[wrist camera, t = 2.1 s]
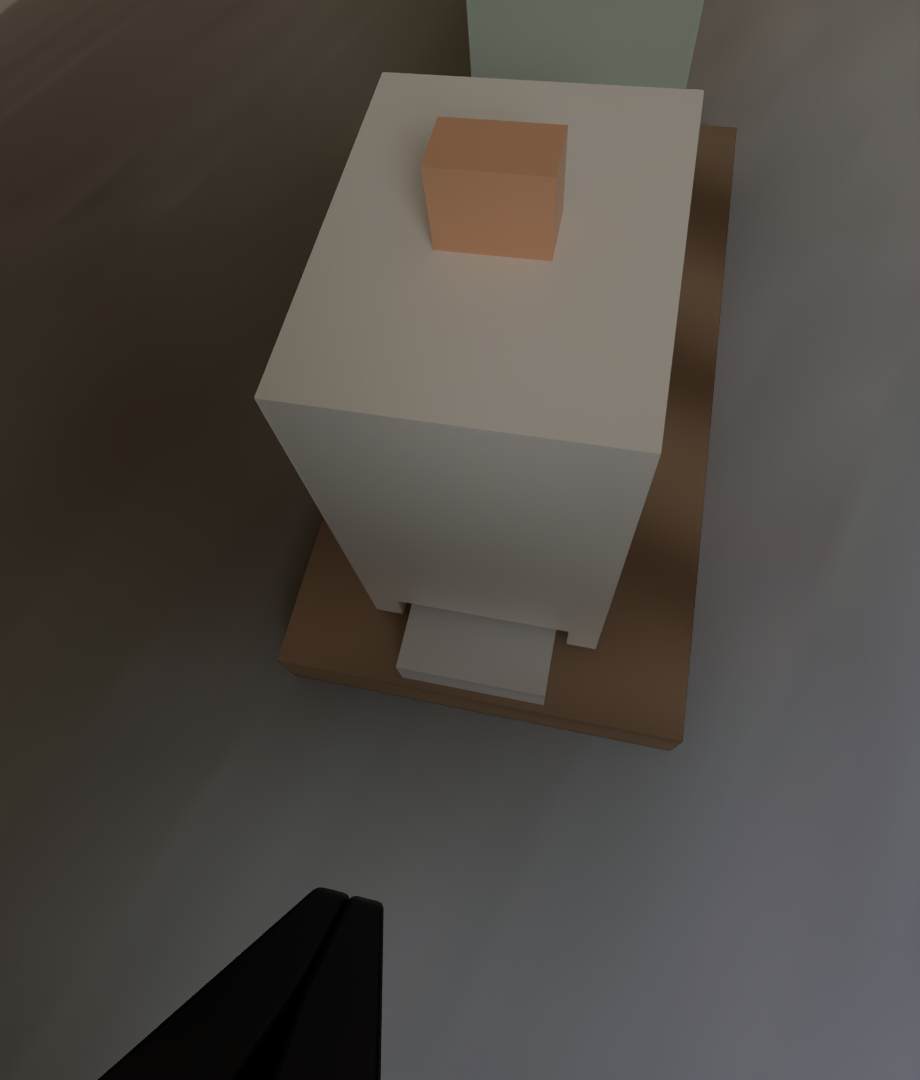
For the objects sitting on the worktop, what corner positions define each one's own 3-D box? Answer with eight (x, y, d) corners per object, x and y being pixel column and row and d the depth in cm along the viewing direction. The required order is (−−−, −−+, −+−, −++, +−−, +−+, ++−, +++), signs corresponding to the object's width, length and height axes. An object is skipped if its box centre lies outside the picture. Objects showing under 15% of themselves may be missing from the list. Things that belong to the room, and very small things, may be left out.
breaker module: (595, 649, 17) (684, 385, 8) (376, 609, 18) (213, 328, 9) (629, 408, 20) (726, -5, 10) (438, 384, 21) (366, -18, 11)
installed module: (653, 243, 22) (728, -118, 14) (481, 227, 23) (458, -120, 15) (671, 115, 25) (745, -257, 16) (514, 105, 25) (510, -253, 17)
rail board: (670, 750, 18) (692, 734, 15) (294, 674, 19) (263, 649, 17) (725, 166, 26) (745, 99, 24) (457, 147, 27) (452, 82, 25)
